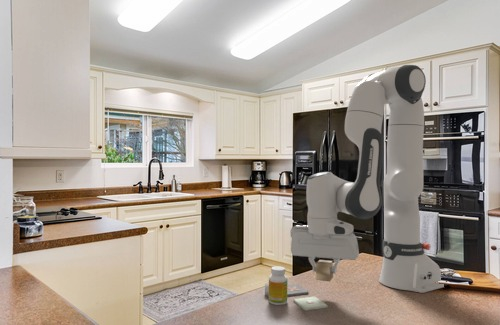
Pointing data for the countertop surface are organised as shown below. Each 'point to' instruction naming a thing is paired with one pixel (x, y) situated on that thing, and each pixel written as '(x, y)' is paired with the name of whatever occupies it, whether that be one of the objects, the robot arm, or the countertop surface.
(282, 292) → the supplement bottle
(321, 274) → the block
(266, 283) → the light grey dome
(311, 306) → the pad
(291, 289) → the pad
